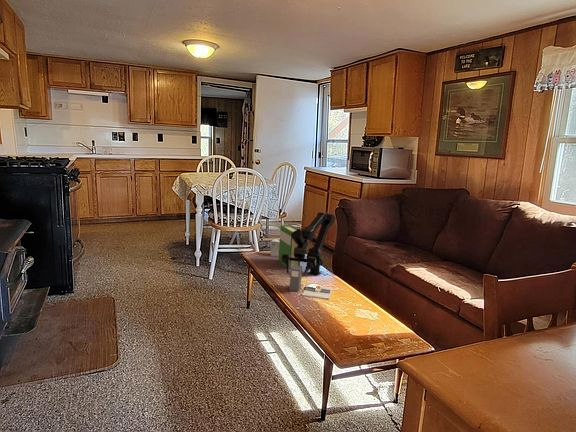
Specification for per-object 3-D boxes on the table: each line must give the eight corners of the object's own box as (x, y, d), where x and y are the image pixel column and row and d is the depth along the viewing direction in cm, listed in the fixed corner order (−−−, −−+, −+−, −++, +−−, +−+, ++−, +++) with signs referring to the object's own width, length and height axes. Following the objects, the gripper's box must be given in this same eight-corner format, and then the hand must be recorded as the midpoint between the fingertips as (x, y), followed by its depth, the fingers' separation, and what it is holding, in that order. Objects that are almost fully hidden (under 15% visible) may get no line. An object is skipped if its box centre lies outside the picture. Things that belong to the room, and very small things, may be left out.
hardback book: (299, 268, 244) (302, 231, 240) (288, 269, 241) (291, 231, 237) (288, 260, 260) (291, 225, 256) (278, 260, 257) (280, 225, 253)
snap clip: (316, 287, 207) (316, 285, 207) (320, 287, 207) (320, 286, 207) (315, 288, 206) (315, 286, 206) (320, 289, 205) (320, 287, 205)
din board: (307, 285, 216) (307, 284, 216) (332, 288, 213) (332, 287, 213) (302, 295, 200) (302, 294, 200) (329, 299, 198) (329, 298, 197)
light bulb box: (286, 254, 272) (287, 239, 270) (285, 257, 266) (286, 242, 264) (271, 253, 273) (272, 238, 271) (270, 256, 267) (271, 240, 265)
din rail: (306, 288, 209) (306, 286, 209) (330, 292, 206) (330, 289, 206) (305, 290, 207) (305, 287, 207) (330, 293, 204) (330, 291, 204)
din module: (291, 286, 213) (293, 265, 210) (300, 287, 212) (302, 266, 209) (289, 290, 207) (290, 268, 205) (298, 291, 206) (300, 269, 204)
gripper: (283, 239, 212) (277, 264, 203) (317, 243, 208) (312, 268, 199) (285, 249, 221) (279, 274, 212) (318, 253, 217) (313, 278, 208)
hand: (296, 273), depth 208 cm, fingers open, 9 cm apart
